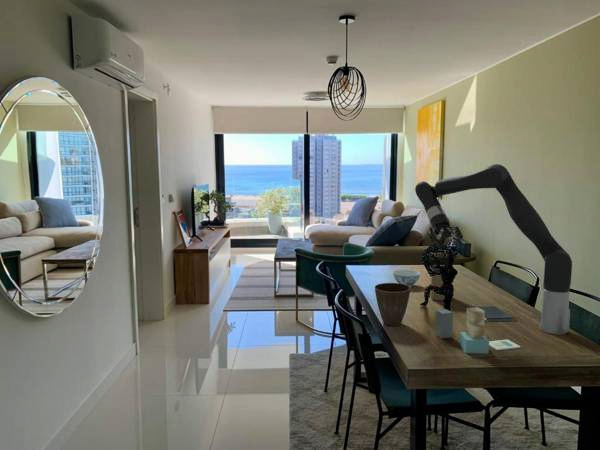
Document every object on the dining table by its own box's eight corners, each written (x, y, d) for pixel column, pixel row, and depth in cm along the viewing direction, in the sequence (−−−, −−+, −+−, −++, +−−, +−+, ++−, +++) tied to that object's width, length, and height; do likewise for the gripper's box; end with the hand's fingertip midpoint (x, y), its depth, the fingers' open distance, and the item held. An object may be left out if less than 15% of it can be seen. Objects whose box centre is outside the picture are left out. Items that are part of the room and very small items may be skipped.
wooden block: (450, 296, 226) (452, 258, 224) (451, 301, 217) (453, 262, 214) (430, 295, 229) (431, 257, 227) (431, 300, 220) (432, 261, 217)
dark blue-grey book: (518, 319, 188) (483, 319, 188) (518, 323, 188) (483, 323, 188) (497, 304, 208) (465, 305, 207) (497, 308, 208) (465, 308, 208)
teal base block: (481, 345, 164) (482, 332, 163) (488, 354, 156) (489, 340, 155) (459, 344, 164) (460, 332, 164) (465, 353, 157) (465, 340, 156)
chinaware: (421, 289, 239) (421, 276, 238) (393, 288, 242) (393, 275, 241) (418, 282, 254) (418, 269, 253) (392, 282, 256) (392, 269, 255)
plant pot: (384, 331, 178) (384, 293, 176) (368, 319, 192) (368, 284, 190) (416, 327, 182) (417, 290, 180) (398, 316, 196) (399, 281, 194)
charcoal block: (445, 333, 176) (446, 309, 174) (451, 337, 171) (452, 312, 170) (435, 334, 175) (436, 310, 173) (441, 338, 170) (442, 313, 169)
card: (507, 340, 167) (507, 339, 167) (520, 347, 160) (520, 346, 160) (484, 343, 165) (484, 341, 165) (496, 350, 158) (496, 348, 158)
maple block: (477, 333, 162) (477, 307, 161) (483, 337, 158) (484, 310, 157) (465, 334, 162) (466, 307, 161) (472, 338, 157) (473, 311, 156)
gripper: (426, 213, 188) (439, 243, 179) (455, 212, 192) (470, 242, 182) (420, 224, 194) (432, 254, 185) (448, 223, 197) (462, 252, 188)
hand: (451, 248), depth 183 cm, fingers open, 8 cm apart
